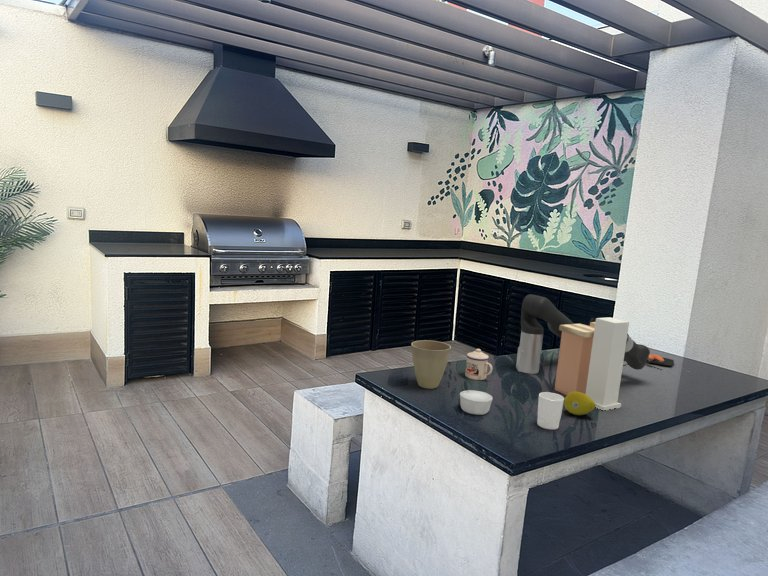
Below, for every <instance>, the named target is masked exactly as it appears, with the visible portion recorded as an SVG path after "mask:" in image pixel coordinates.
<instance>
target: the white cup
mask: <svg viewBox="0 0 768 576" xmlns="http://www.w3.org/2000/svg"><path fill="white" fill-rule="evenodd" d="M564 398H565V397H564V396H563V395H561V394H558V393H555V392H549V391H545V392H539V394H538V404H537V419H536V421H537V422H536V424H537V426H539V427H540V428H543V429H545V430H553V431H554V430H558V428H559V426H560V421H561V417H562V413H563V408H564Z"/></svg>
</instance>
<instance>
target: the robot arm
mask: <svg viewBox="0 0 768 576" xmlns="http://www.w3.org/2000/svg"><path fill="white" fill-rule="evenodd" d="M520 314H521V316H520V327H521V329H520V332H521V333H520V341H519V346H518V347H517V354H516V365H515V368H516V370H517V372H520V373H523V374H530V375H534V374H538V373H539V370H540V364H541V355H542V347H543V338H544V330H545V329H544V326H543V325H542V324H541V323H539V322H538V320H537V318H538V319H540V320H543V321H545V322H547V327H548V329H549V330H550V332H552V334H554V335H555V336H557V337H558V338H561V336H562V331H560V330H559V326H560V325H567V324H575V323H574V322H573V321H572V320H571V319H569V317H567V316H566V315H565V314H563V313H562V312H561V311H560V310H559V309H557V307H556V306H555V305H554V304H553V302H552V301H551V300H550V299H549V298H547V297H545V296H541V295H537V294H532V293H531V294H530V293H529V294H527V295H526V296H525V297H524V298H523V300H522V304H521V312H520ZM590 322H596V318H594V317H591V318H590V319H589V323H590ZM649 354H650V355H651V351H650V349H649V347H647V345H644V344H639V343H637V342H636V341H634V339H632V337H631V336H630V334H629V333H628V334H627V341H626V347H625V354H624V361H623V363H624V362H626V364H628V365H629V367H630V368H632V369H633V370H636V371H637V370H639V371H640V370H642V369H643V368H645V366H646V365H645V364H647V363H646V361H647V359H648V357H649Z"/></svg>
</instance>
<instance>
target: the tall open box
mask: <svg viewBox="0 0 768 576" xmlns="http://www.w3.org/2000/svg"><path fill="white" fill-rule="evenodd" d="M592 344H593V337H586V338H584V337H580V336H577V335H574V334H570V333H567V332H564V331H562V336H561V337H560V345H559V352H558V360H557V369H556V373H555V374H556V376H555V382H554V383H555V384H554V391H555V392H558V393H561V394H562V395H565V396H567V395H568V394H569V393H570V392H574V391H575V392H581V393H584V394H586V387H587V380H588V372H589V365H590V358H591V351H592Z"/></svg>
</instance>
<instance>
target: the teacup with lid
mask: <svg viewBox="0 0 768 576" xmlns="http://www.w3.org/2000/svg"><path fill="white" fill-rule="evenodd" d="M489 359H490V357H489V355H488V354H487V353H484V352H483V351H482V350H481V349H480V348H476V349H475V350H474V351H472V352H468V353H467V354H466V362H465V372H464V375H465V377H466V378H468V379H470V380H475V381H482V380H486V379H487V376H488V375H489V376H490V375H491V373H492V372H493V365H492V363H490V362H489ZM488 367H489V371H488Z"/></svg>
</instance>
